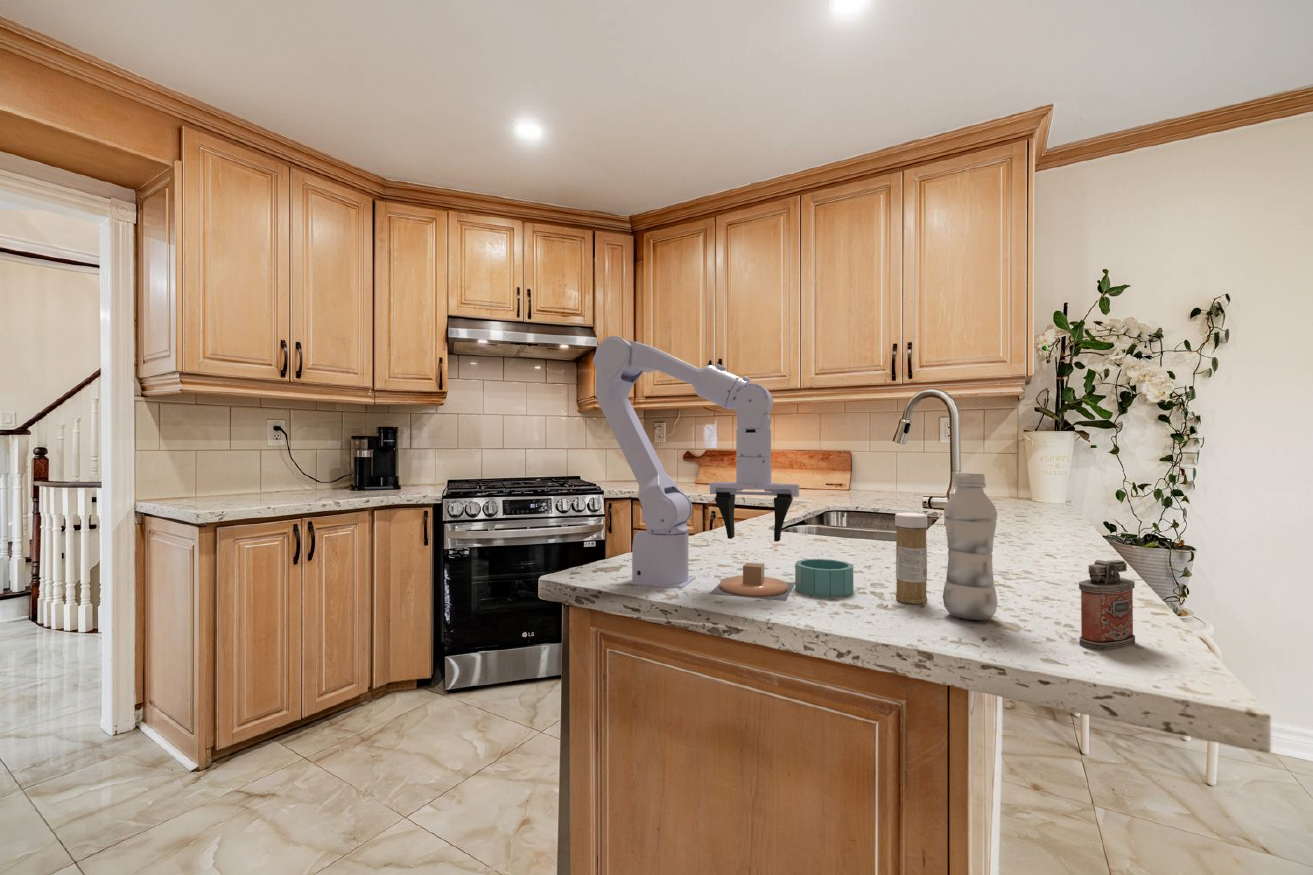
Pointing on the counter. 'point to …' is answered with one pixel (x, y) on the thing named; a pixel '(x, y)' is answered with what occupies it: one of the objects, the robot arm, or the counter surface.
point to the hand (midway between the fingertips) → (753, 539)
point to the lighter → (1107, 607)
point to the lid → (753, 582)
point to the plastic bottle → (970, 550)
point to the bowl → (824, 577)
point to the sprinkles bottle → (911, 557)
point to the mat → (782, 597)
